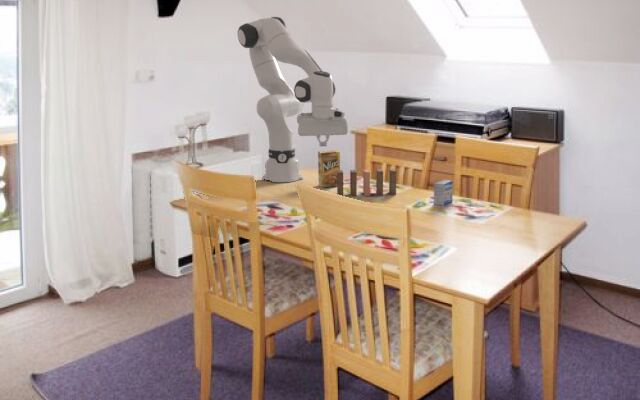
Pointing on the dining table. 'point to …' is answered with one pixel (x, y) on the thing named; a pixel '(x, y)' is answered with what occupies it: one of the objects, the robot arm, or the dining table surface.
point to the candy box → (328, 167)
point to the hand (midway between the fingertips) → (323, 146)
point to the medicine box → (443, 192)
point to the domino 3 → (366, 182)
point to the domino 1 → (340, 182)
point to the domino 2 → (353, 183)
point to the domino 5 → (392, 181)
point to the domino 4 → (379, 181)
